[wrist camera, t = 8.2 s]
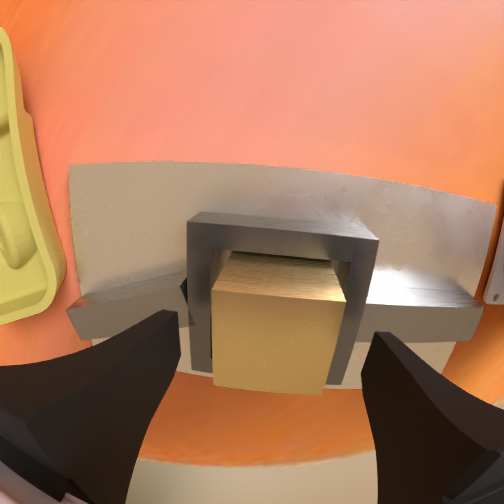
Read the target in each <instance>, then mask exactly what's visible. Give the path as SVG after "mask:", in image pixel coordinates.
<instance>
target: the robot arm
mask: <svg viewBox="0 0 504 504" xmlns="http://www.w3.org/2000/svg"><path fill="white" fill-rule="evenodd" d="M494 295H495V297H494ZM493 297H494V298H493ZM483 300H484V302H485V303H486V304H504V218H503V224H502V229H501V233H500V238H499V242H498V246H497V250H496V254H495V258H494V262H493V265H492V269H491V272H490V276H489V279H488V282H487V285H486V288H485V291H484V294H483ZM180 357H181V347H180V335H179V321H178V312H176V311H170V310H164V309H162V310H160V311H158V312H156V313H154V314H153V315H151V316H149V317H147V318H146V319H144V320H142V321H141V322H139V323H137V324H135V325H133V326H132V327H130V328H128V329H126V330H125V331H123V332H121V333H119V334H117V335H115V336H113V337H111V338H109V339H107V340H105V341H103V342H101V343H99V344H96V345H94V346H92V347H89V348H87V349H84V350H81V351H79V352H76V353H73V354H69V355H66V356H62V357H59V358H55V359H51V360H47V361H42V362H37V363H30V364H23V365H11V366H0V504H125V501H126V497H127V492H128V488H129V484H130V480H131V477H132V473H133V469H134V466H135V463H136V460H137V457H138V454H139V451H140V448H141V445H142V442H143V439H144V436H145V434H146V431H147V428H148V426H149V424H150V422H151V419H152V418H153V416H154V414H155V412H156V410H157V408H158V406H159V404H160V402H161V400H162V398H163V397H164V395H165V393H166V391H167V389H168V387H169V385H170V383H171V381H172V379H173V377H174V374H175V372H176V369H177V366H178V363H179V360H180ZM361 383H362V391H363V398H364V402H365V406H366V410H367V414H368V418H369V422H370V426H371V430H372V435H373V439H374V444H375V450H376V458H377V474H378V504H504V410H503V409H500V408H498V407H495V406H493V405H491V404H488V403H486V402H484V401H482V400H480V399H479V398H477V397H475V396H473V395H471V394H469V393H468V392H466V391H464V390H463V389H461V388H460V387H458V386H456V385H455V384H453V383H452V382H450V381H449V380H448V379H446V378H445V377H444V376H442V375H441V374H440V373H438V372H437V371H436V370H434V369H433V368H432V367H431V366H430V365H428V364H427V363H426V362H425V361H424V360H422V359H421V358H420V357H419V356H418V355H417V354H416V353H414V352H413V351H412V350H411V349H410V348H409V347H408V346H406V345H405V344H404V343H403V342H402V341H401V340H399V339H398V338H397V337H396V336H395V335H393V334H392V333H391V332H380V331H375V332H374V335H373V338H372V342H371V345H370V348H369V351H368V353H367V356H366V359H365V362H364V365H363V368H362V370H361Z"/></svg>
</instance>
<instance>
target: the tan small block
mask: <svg viewBox="0 0 504 504" xmlns="http://www.w3.org/2000/svg"><path fill="white" fill-rule="evenodd" d="M345 305H346V300H345V297H344V294H343V292H342V289H341V287H340V284H339V281H338V279H337V276H336V274H335V271H334V269H333V266H332V264H331V261H330V260H325V259H315V258H305V257H294V256H284V255H274V254H263V253H253V252H243V251H232V252H231V254H230V256H229V258H228V259H227V261H226V263H225V265H224V267H223V269H222V271H221V273H220V274H219V276H218V278H217V280H216V282H215V284H214V286H213V288H212V363H213V385H214V386H221V387H228V388H236V389H244V390H252V391H262V392H273V393H286V394H302V395H322V393H323V390H324V386H325V383H326V380H327V376H328V373H329V369H330V366H331V362H332V358H333V355H334V351H335V347H336V343H337V339H338V335H339V331H340V327H341V323H342V318H343V314H344V309H345Z"/></svg>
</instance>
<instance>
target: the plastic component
mask: <svg viewBox="0 0 504 504" xmlns="http://www.w3.org/2000/svg"><path fill="white" fill-rule="evenodd" d="M65 274H66V257H65V253H64V250H63V247H62V244H61V241H60V238H59V235H58V232H57V229H56V225H55V222H54V219H53V215H52V212H51V208H50V205H49V201H48V197H47V193H46V189H45V185H44V181H43V176H42V172H41V167H40V162H39V157H38V152H37V146H36V140H35V134H34V127H33V120H32V117H31V115H30V114H29V113H27V112H26V111H25V108H24V102H23V91H22V82H21V76H20V71H19V66H18V63H17V59H16V56H15V54H14V50H13V47H12V44H11V41H10V39H9V37H8V35H7V33H6V32H5V31H4V29H3V28H2V27H0V325H2V324H5V323H9V322H12V321H15V320H18V319H22V318H25V317H28V316H32V315H35V314H38V313H41V312H42V311H44V310H45V309H47V308H48V306H49V305H50V304H51V303H52V301H53V299H54V297H55V295H56V294H57V292H58V290H59V288H60V286H61V285H62V283H63V281H64V278H65Z"/></svg>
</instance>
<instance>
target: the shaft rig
mask: <svg viewBox="0 0 504 504" xmlns="http://www.w3.org/2000/svg"><path fill="white" fill-rule="evenodd" d="M69 199H70V215H71V227H72V237H73V245H74V253H75V261H76V268H77V274H78V280H79V286H80V291H81V296H82V297H81V298H79V299H78V300H77V301H76V302H75V303H73V304H72V305H71V306H70V307H69V308H67V309H66V312H67V314H68V316H69V318H70V320H71V322H72V324H73V326H74V328H75V329H76V331H77V333H78V335H79V337H80V339H81V340H89V339H91V340H92V344H93V346H94V345H96V344H99V343H101V342H103V341H105V340H107V339H109V338H111V337H113V336H115V335H117V334H119V333H121V332H123V331H125V330H126V329H128V328H130V327H132V326H133V325H135V324H137V323H139V322H141V321H142V320H144V319H146V318H147V317H149V316H151V315H153V314H154V313H156V312H158V311H160V310H162V309H164V310H170V311H176V312H178V321H179V335H180V347H181V357H180V360H179V363H178V366H177V369H176V371H179V372H184V373H190V374H195V375H201V376H207V377H213V363H212V288H213V286H214V284H215V282H216V280H217V278H218V276H219V274H220V273H221V271H222V269H223V267H224V265H225V263H226V261H227V259H228V258H229V256H230V254H231V252H232V251H243V252H253V253H263V254H274V255H284V256H294V257H305V258H315V259H325V260H330V261H331V264H332V266H333V269H334V271H335V274H336V276H337V279H338V281H339V284H340V287H341V289H342V292H343V294H344V297H345V300H346V305H345V309H344V314H343V318H342V323H341V327H340V331H339V335H338V339H337V343H336V347H335V351H334V355H333V358H332V362H331V366H330V369H329V373H328V376H327V380H326V383H325V386H324V388H327V389H362V383H361V370H362V368H363V365H364V362H365V359H366V356H367V353H368V351H369V348H370V345H371V342H372V338H373V335H374V332H375V331H380V332H391V333H392V334H393V335H395V336H396V337H397V338H398V339H399V340H401V341H402V342H403V343H404V344H405V345H406V346H408V347H409V348H410V349H411V350H412V351H413V352H414V353H416V354H417V355H418V356H419V357H420V358H421V359H422V360H424V361H425V362H426V363H427V364H428V365H430V366H431V367H432V368H433V369H434V370H436V371H437V372H438V373H440V374H441V373H442V371H443V369H444V367H445V365H446V363H447V361H448V359H449V357H450V355H451V353H452V351H453V349H454V346H455V344H456V342H462V341H471V340H472V338H473V336H474V333H475V331H476V329H477V326H478V324H479V321H480V319H481V316H482V314H483V311H484V307H483V306H482V305H481V304H480V303H479V302H478V301H477V300H476V299H475V298H474V296H475V293H476V290H477V287H478V283H479V280H480V277H481V274H482V270H483V267H484V263H485V259H486V256H487V252H488V248H489V243H490V239H491V235H492V230H493V225H494V220H495V215H496V209H497V205H495V204H492V203H489V202H486V201H482V200H479V199H475V198H471V197H467V196H463V195H459V194H455V193H451V192H446V191H442V190H437V189H433V188H428V187H423V186H419V185H414V184H408V183H403V182H398V181H392V180H387V179H381V178H375V177H369V176H362V175H355V174H348V173H341V172H334V171H326V170H318V169H309V168H299V167H289V166H278V165H266V164H252V163H236V162H215V161H169V160H159V161H114V162H94V163H79V164H71V165H69Z"/></svg>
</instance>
